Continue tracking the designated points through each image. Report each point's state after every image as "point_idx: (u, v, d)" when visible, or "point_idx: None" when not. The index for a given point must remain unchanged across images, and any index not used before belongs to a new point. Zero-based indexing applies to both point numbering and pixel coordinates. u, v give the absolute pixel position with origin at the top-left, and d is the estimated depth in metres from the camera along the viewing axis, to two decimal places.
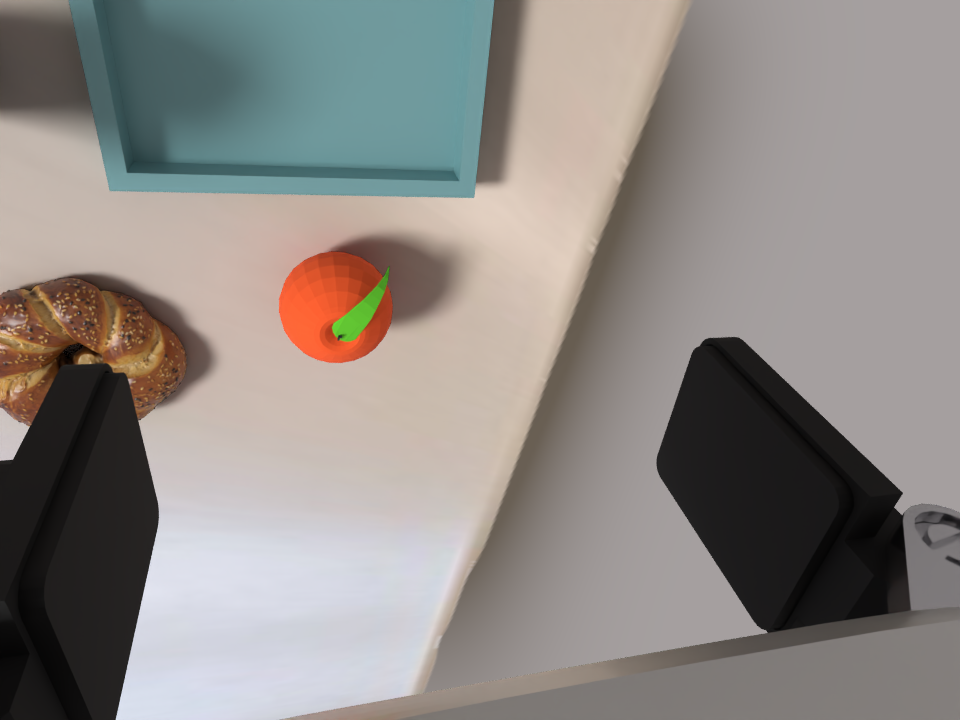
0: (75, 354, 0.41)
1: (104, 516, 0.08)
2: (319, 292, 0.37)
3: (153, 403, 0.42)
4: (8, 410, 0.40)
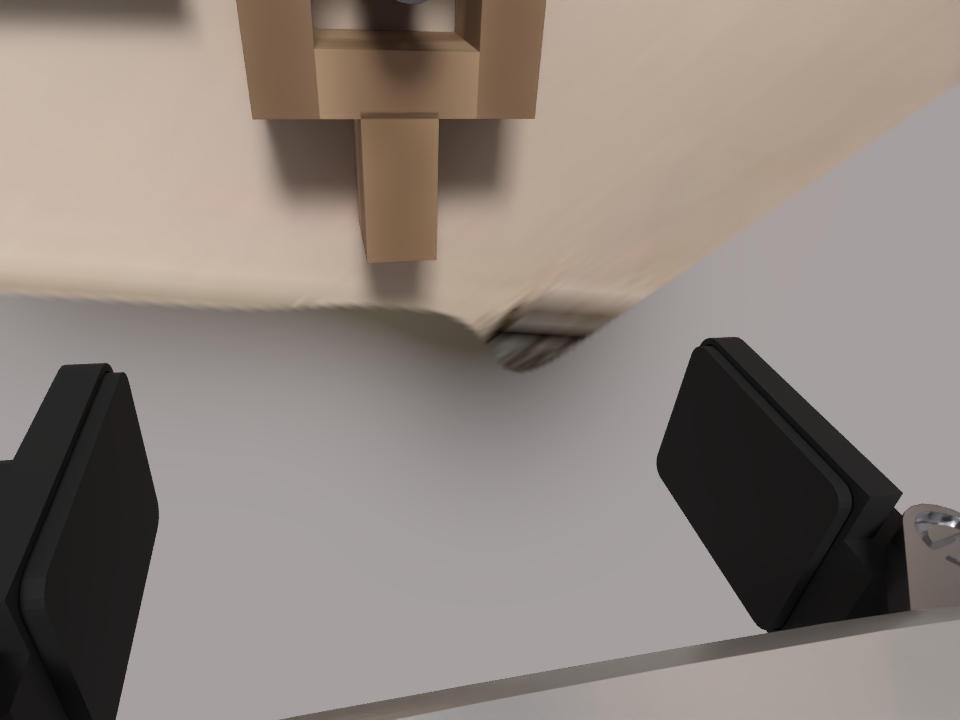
0: None
1: (104, 516, 0.08)
2: None
3: None
4: None
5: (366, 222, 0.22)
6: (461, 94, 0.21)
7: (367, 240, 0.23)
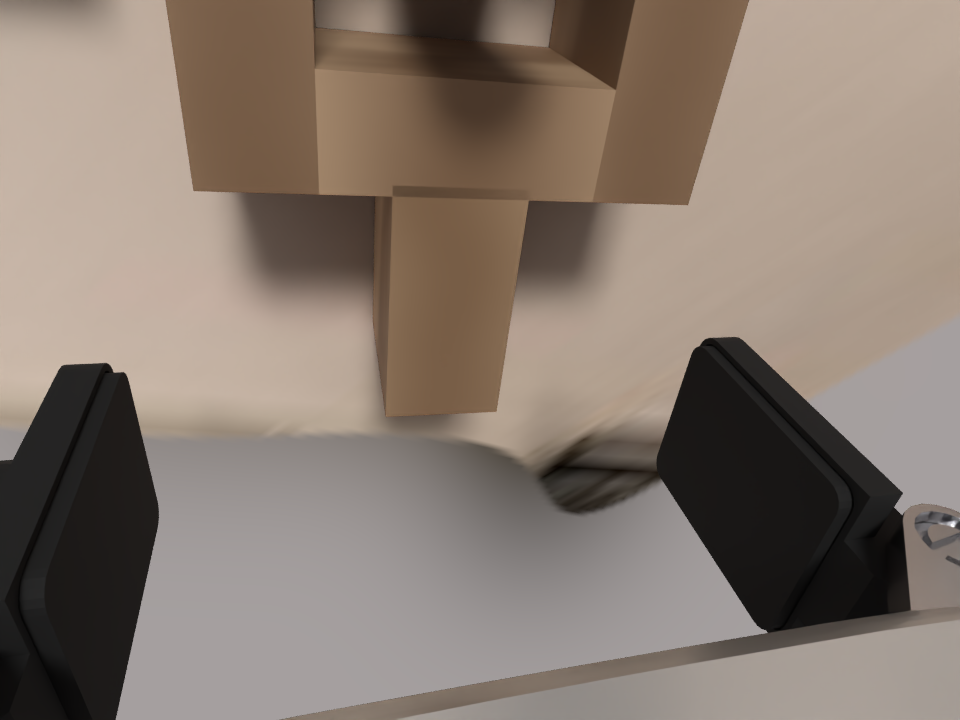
0: None
1: (104, 516, 0.08)
2: None
3: None
4: None
5: (388, 358, 0.13)
6: (573, 161, 0.12)
7: (388, 384, 0.14)
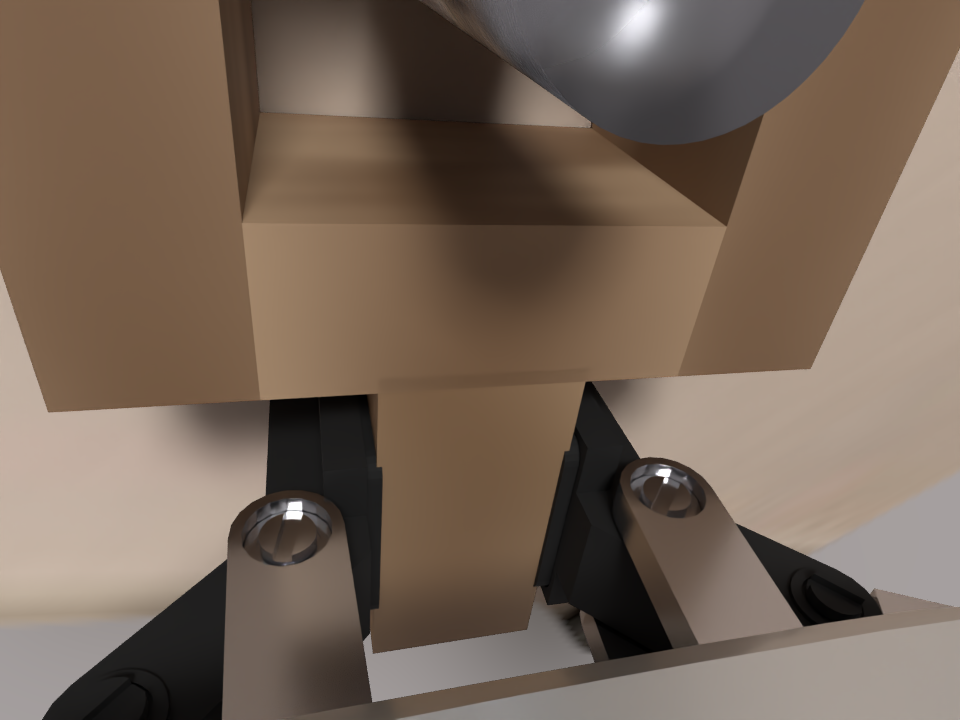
0: None
1: None
2: None
3: None
4: None
5: None
6: (655, 326, 0.08)
7: (375, 618, 0.09)
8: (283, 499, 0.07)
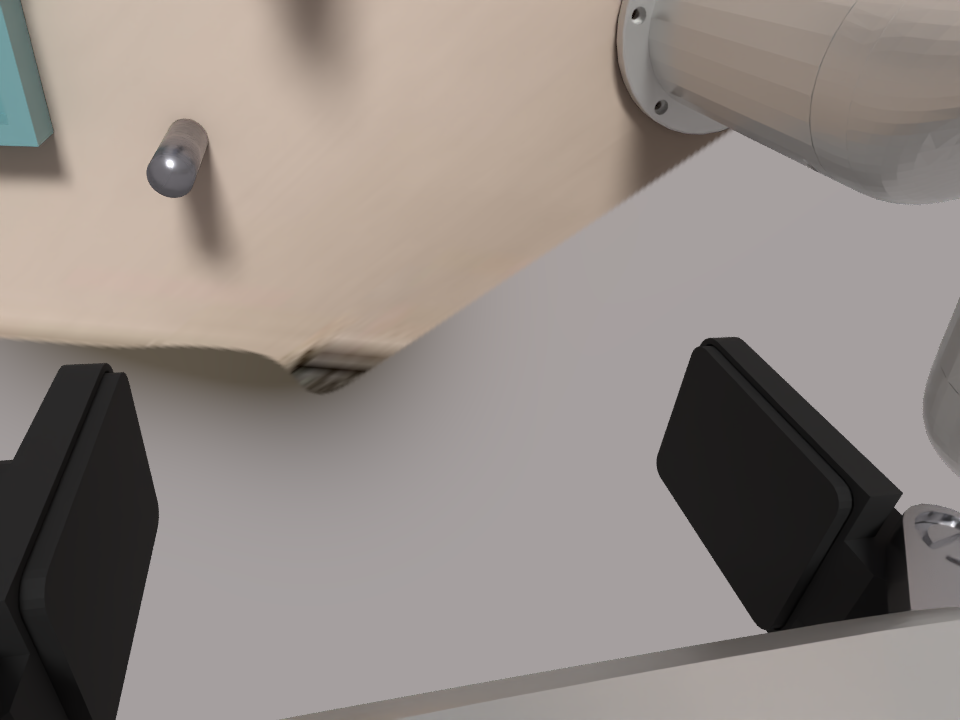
0: None
1: (104, 516, 0.08)
2: None
3: None
4: None
5: None
6: None
7: None
8: None
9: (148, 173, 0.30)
